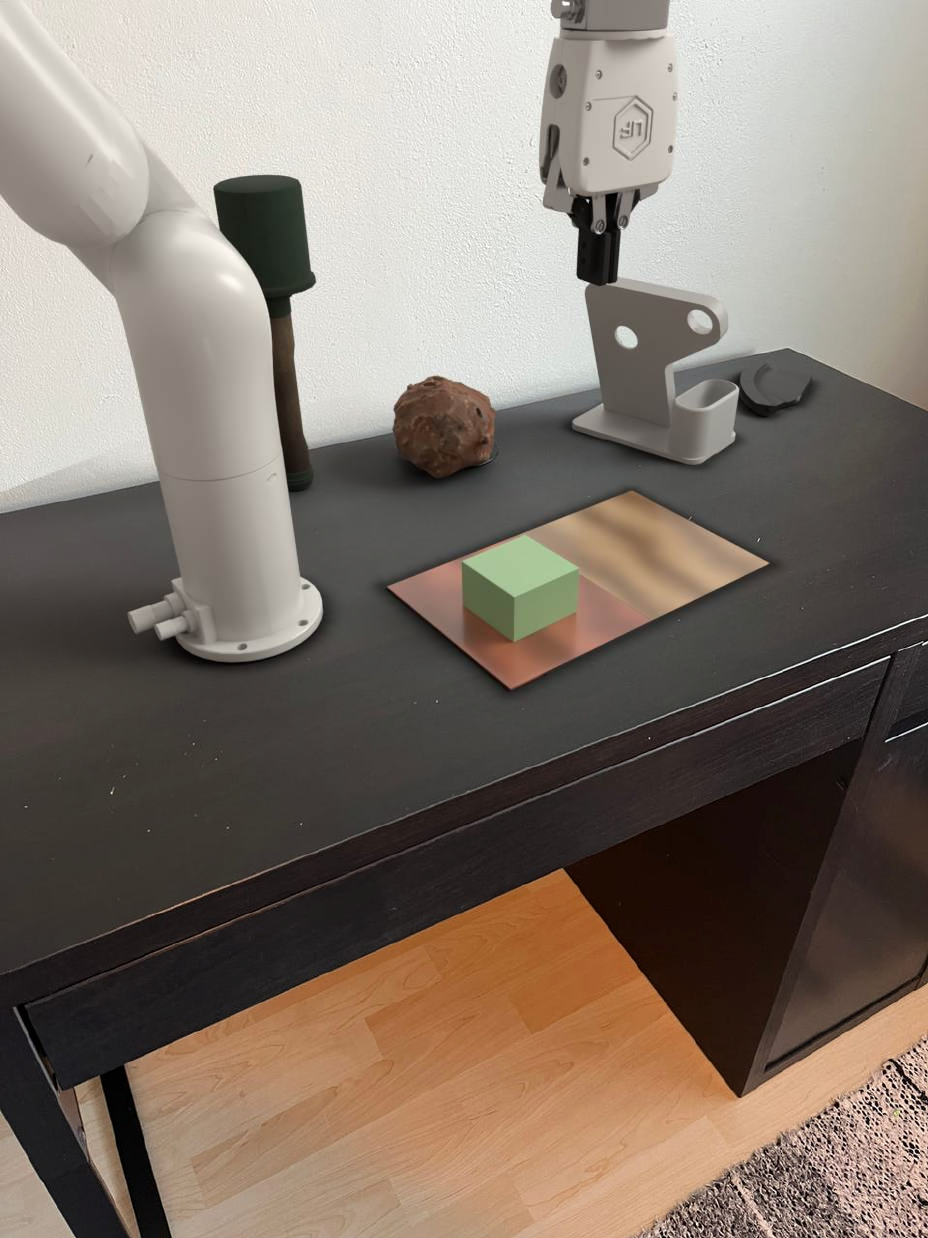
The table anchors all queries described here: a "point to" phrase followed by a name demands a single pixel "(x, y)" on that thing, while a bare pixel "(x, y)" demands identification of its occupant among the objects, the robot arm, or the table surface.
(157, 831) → the table surface
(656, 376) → the phone holder
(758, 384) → the dark sector wedge
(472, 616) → the plate
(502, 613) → the green block
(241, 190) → the potato masher grenade
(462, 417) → the decorative rock
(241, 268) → the robot arm
